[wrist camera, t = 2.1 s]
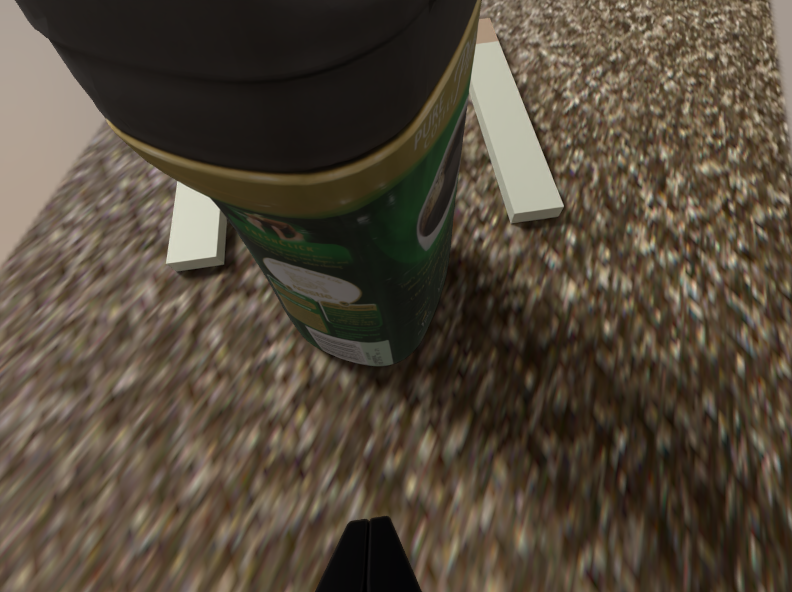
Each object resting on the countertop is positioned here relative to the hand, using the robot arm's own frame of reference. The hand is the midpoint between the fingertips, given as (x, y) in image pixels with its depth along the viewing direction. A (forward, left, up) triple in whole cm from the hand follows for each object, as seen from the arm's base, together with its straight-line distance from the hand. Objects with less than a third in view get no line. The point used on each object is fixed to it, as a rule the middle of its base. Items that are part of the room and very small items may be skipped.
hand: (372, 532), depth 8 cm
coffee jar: (+8, -7, -11) cm, 16 cm away
